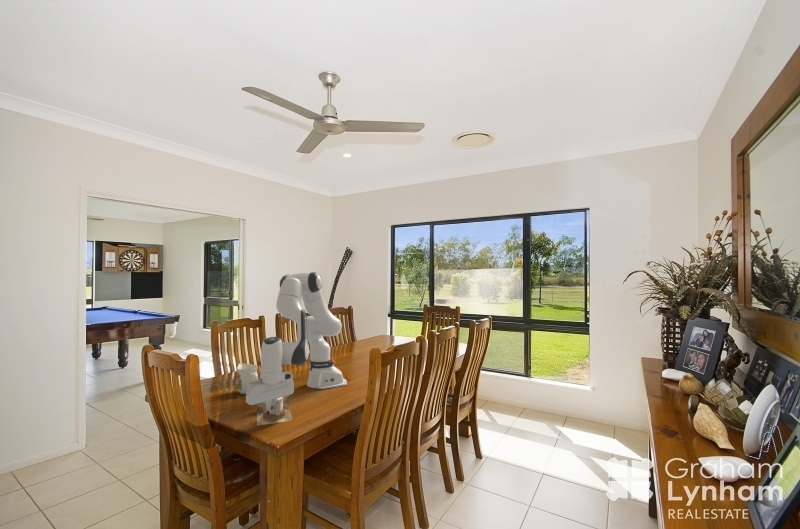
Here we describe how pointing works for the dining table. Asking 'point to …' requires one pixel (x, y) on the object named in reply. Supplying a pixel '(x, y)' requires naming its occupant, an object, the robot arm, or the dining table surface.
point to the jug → (277, 407)
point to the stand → (265, 418)
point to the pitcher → (245, 376)
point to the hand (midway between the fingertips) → (270, 409)
